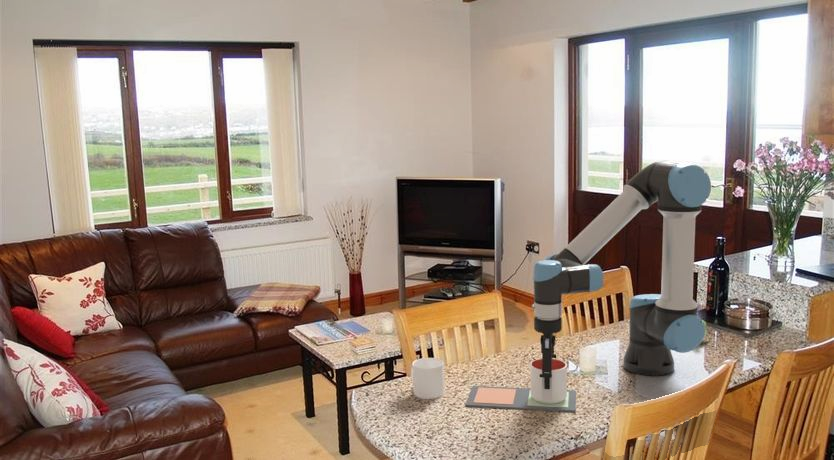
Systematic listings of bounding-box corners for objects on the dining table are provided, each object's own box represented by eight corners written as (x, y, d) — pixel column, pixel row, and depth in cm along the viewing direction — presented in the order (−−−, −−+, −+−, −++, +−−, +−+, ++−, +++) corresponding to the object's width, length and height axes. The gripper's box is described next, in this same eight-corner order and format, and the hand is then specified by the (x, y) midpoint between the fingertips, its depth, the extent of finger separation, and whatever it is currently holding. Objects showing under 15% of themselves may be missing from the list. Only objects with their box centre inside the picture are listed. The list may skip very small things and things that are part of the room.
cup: (566, 406, 199) (566, 371, 198) (529, 404, 201) (529, 369, 200) (566, 392, 209) (566, 358, 207) (531, 390, 211) (531, 357, 209)
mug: (450, 394, 212) (449, 364, 211) (423, 402, 208) (422, 370, 206) (429, 382, 222) (427, 353, 221) (403, 388, 218) (401, 359, 216)
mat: (575, 392, 210) (575, 390, 210) (575, 412, 197) (575, 409, 197) (472, 387, 217) (472, 385, 217) (465, 406, 204) (465, 404, 204)
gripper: (536, 304, 214) (537, 373, 218) (531, 329, 190) (532, 406, 194) (562, 304, 212) (563, 374, 216) (560, 330, 189) (560, 408, 192)
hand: (548, 389), depth 205 cm, fingers open, 13 cm apart
